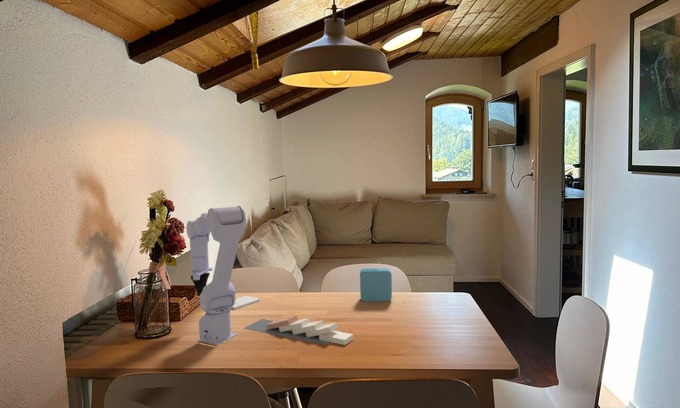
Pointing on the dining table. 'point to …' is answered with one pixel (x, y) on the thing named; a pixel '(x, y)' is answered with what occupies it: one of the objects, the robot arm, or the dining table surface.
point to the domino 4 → (323, 330)
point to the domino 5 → (336, 337)
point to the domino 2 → (295, 325)
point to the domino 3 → (309, 327)
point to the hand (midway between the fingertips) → (201, 295)
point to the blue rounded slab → (375, 285)
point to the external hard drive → (244, 302)
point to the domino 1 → (282, 322)
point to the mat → (262, 327)
